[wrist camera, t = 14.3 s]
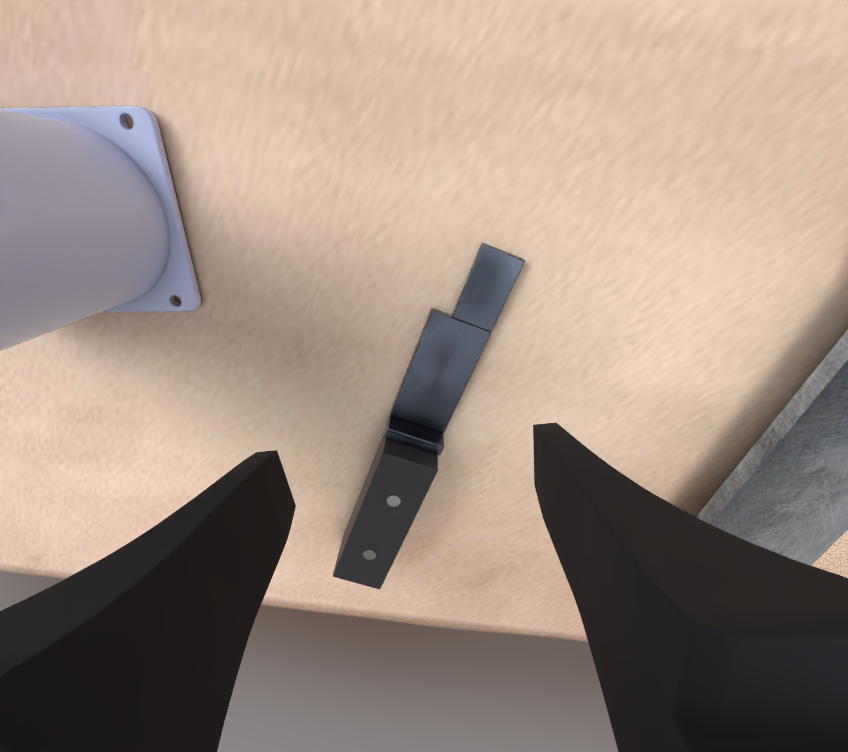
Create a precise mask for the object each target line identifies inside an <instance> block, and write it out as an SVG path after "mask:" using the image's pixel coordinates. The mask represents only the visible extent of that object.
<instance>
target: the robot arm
mask: <svg viewBox="0 0 848 752" xmlns="http://www.w3.org/2000/svg"><path fill="white" fill-rule="evenodd" d="M129 115H130V116H131V117H132V119H133V121H134V126H133V127H132V129H131V128H129V126H128V124H127V117H128V116H129ZM174 296H177V297H179V298H180V300H181V304H178V303H177V302H176V301H175V299H174ZM200 305H201V297H200V293H199V289H198V285H197V281H196V277H195V273H194V268H193V264H192V260H191V256H190V252H189V248H188V244H187V240H186V236H185V231H184V227H183V223H182V219H181V215H180V211H179V207H178V203H177V199H176V194H175V190H174V186H173V182H172V178H171V174H170V170H169V166H168V162H167V158H166V153H165V149H164V145H163V141H162V137H161V133H160V129H159V125H158V121H157V119H156V116H155V115H154V114H153V113H152V112H151V111H150V110H148V109H147V108H144V107H139V106H101V107H43V108H0V351H1V350H4V349H7V348H9V347H12V346H14V345H17V344H20V343H22V342H25V341H27V340H30V339H33V338H35V337H38V336H40V335H43V334H46V333H48V332H51V331H53V330H56V329H58V328H61V327H64V326H66V325H69V324H71V323H74V322H77V321H79V320H82V319H84V318H87V317H90V316H92V315H95V314H97V313H100V312H180V311H194V310H196V309H197V308H198V307H200ZM533 437H534V481H535V488H536V492H537V496H538V500H539V504H540V508H541V512H542V515H543V519H544V521H545V524H546V527H547V529H548V532H549V534H550V537H551V539H552V542H553V545H554V547H555V550H556V552H557V555H558V557H559V560H560V562H561V565H562V567H563V570H564V572H565V575H566V577H567V580H568V582H569V585H570V587H571V590H572V592H573V595H574V598H575V600H576V603H577V606H578V609H579V612H580V615H581V618H582V622H583V625H584V629H585V632H586V635H587V639H588V642H589V646H590V649H591V652H592V656H593V660H594V663H595V667H596V670H597V674H598V677H599V681H600V685H601V688H602V692H603V695H604V699H605V703H606V706H607V710H608V714H609V718H610V721H611V725H612V729H613V733H614V736H615V740H616V744H617V747H618V751H619V752H848V578H846V577H843V576H840V575H837V574H834V573H831V572H828V571H825V570H822V569H819V568H816V567H813V566H810V565H807V564H804V563H802V562H799V561H796V560H793V559H791V558H788V557H786V556H783V555H781V554H778V553H776V552H773V551H771V550H768V549H766V548H763V547H761V546H758V545H756V544H753V543H751V542H749V541H746V540H744V539H742V538H739V537H737V536H735V535H732V534H730V533H728V532H726V531H724V530H722V529H719V528H717V527H715V526H713V525H711V524H709V523H707V522H705V521H703V520H700V519H698V518H696V517H694V516H692V515H691V514H689V513H687V512H685V511H683V510H681V509H679V508H677V507H675V506H674V505H672V504H670V503H668V502H667V501H665V500H663V499H661V498H659V497H658V496H656V495H654V494H652V493H651V492H649V491H648V490H646V489H644V488H643V487H641V486H639V485H638V484H636V483H635V482H633V481H632V480H630V479H629V478H627V477H626V476H624V475H623V474H621V473H620V472H619V471H617V470H616V469H614V468H613V467H611V466H610V465H609V464H607V463H606V462H605V461H603V460H602V459H601V458H599V457H598V456H597V455H595V454H594V453H593V452H591V451H590V450H589V449H588V448H586V447H585V446H584V445H583V444H582V443H580V442H579V441H578V440H577V439H575V438H574V437H573V436H572V435H571V434H569V433H568V432H567V431H566V430H565V429H563V428H562V427H561V426H560V425H558V424H557V423H548V424H538V425H533ZM295 507H296V505H295V502H294V499H293V496H292V493H291V490H290V488H289V485H288V482H287V479H286V476H285V473H284V470H283V467H282V464H281V461H280V458H279V455H278V452H277V450H275V451H265V452H256V453H255V454H253V455H251V456H250V457H248V458H247V459H246V460H244V461H243V462H241V463H240V464H239V465H237V466H236V467H235V468H233V469H232V470H231V471H229V472H228V473H227V474H225V475H224V476H223V477H221V478H220V479H219V480H218V481H216V482H215V483H214V484H212V485H211V486H210V487H208V488H207V489H206V490H204V491H203V492H202V493H200V494H199V495H198V496H197V497H195V498H194V499H193V500H191V501H190V502H188V503H187V504H186V505H184V506H183V507H181V508H180V509H179V510H177V511H176V512H174V513H173V514H171V515H170V516H169V517H167V518H166V519H164V520H163V521H162V522H160V523H159V524H157V525H156V526H154V527H153V528H151V529H150V530H148V531H147V532H145V533H144V534H142V535H141V536H139V537H138V538H136V539H134V540H133V541H131V542H130V543H128V544H126V545H125V546H123V547H121V548H120V549H118V550H117V551H115V552H113V553H112V554H110V555H108V556H106V557H105V558H103V559H101V560H99V561H98V562H96V563H94V564H92V565H90V566H88V567H87V568H85V569H83V570H81V571H79V572H77V573H76V574H74V575H72V576H70V577H68V578H66V579H65V580H63V581H61V582H59V583H57V584H55V585H53V586H51V587H49V588H47V589H45V590H43V591H41V592H39V593H37V594H35V595H33V596H31V597H29V598H27V599H25V600H23V601H21V602H19V603H17V604H14V605H12V606H10V607H8V608H6V609H4V610H2V611H0V752H217V749H218V745H219V741H220V737H221V733H222V728H223V725H224V720H225V717H226V713H227V710H228V706H229V702H230V698H231V695H232V691H233V688H234V684H235V680H236V677H237V673H238V670H239V667H240V664H241V660H242V657H243V653H244V650H245V647H246V644H247V640H248V637H249V634H250V631H251V628H252V626H253V623H254V620H255V617H256V615H257V613H258V610H259V608H260V605H261V603H262V601H263V598H264V596H265V593H266V591H267V588H268V586H269V584H270V581H271V579H272V576H273V574H274V571H275V569H276V567H277V564H278V562H279V559H280V557H281V554H282V552H283V549H284V547H285V544H286V541H287V539H288V535H289V531H290V528H291V524H292V520H293V515H294V511H295Z"/></svg>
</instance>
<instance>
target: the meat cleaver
mask: <svg viewBox="0 0 848 752" xmlns="http://www.w3.org/2000/svg"><path fill="white" fill-rule="evenodd" d="M696 518H698V519H700V520H703V521H705V522H707V523H709V524H711V525H713V526H715V527H717V528H719V529H722V530H724V531H726V532H728V533H730V534H732V535H735V536H737V537H739V538H742V539H744V540H746V541H749V542H751V543H753V544H756V545H758V546H761V547H763V548H766V549H768V550H771V551H773V552H776V553H778V554H781V555H783V556H786V557H788V558H791V559H793V560H796V561H799V562H802V563H804V564H807V565H810V566H811V565H812V564H813V563H814V562H815V561H816V560H817V559H818V558H819V557H820V556H821V555H822V554H823V553H824V552H825V551H826V550H827V549H828V548H829V547H830V546H831V545H832V544H833V543H834V542H835V541H836V540H837V539H838V538H839V537H840V536H841V535H842V534H843V533H845V532H846V531H847V530H848V329H847V331H846V332H845V333H844V334H843V335H842V337H841V338H840V339H839V340H838V342H837V343H836V344H835V345H834V347H833V348H832V349H831V350H830V352H829V353H828V354H827V355H826V357H825V358H824V359H823V360H822V361H821V363H820V364H819V365H818V366H817V368H816V369H815V370H814V371H813V373H812V374H811V375H810V376H809V378H808V379H807V380H806V381H805V383H804V384H803V385H802V386H801V387H800V389H799V390H798V391H797V392H796V394H795V395H794V396H793V397H792V399H791V400H790V401H789V402H788V404H787V405H786V406H785V407H784V409H783V410H782V411H781V412H780V413H779V415H778V416H777V417H776V418H775V420H774V421H773V422H772V423H771V425H770V426H769V427H768V428H767V430H766V431H765V432H764V433H763V434H762V436H761V437H760V438H759V439H758V441H757V442H756V443H755V444H754V446H753V447H752V448H751V449H750V451H749V452H748V453H747V454H746V456H745V457H744V458H743V459H742V460H741V462H740V463H739V464H738V465H737V467H736V468H735V469H734V470H733V472H732V473H731V474H730V475H729V477H728V478H727V479H726V480H725V482H724V483H723V484H722V485H721V486H720V488H719V489H718V490H717V491H716V493H715V494H714V495H713V496H712V498H711V499H710V500H709V501H708V503H707V504H706V505H705V506H704V508H703V509H702V510H701V511H700V512H699V514H698V515H697V516H696Z"/></svg>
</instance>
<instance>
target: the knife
mask: <svg viewBox="0 0 848 752" xmlns="http://www.w3.org/2000/svg"><path fill="white" fill-rule="evenodd" d="M524 262H525V260H523V259H522V258H519V257H517V256H514V255H512V254H509V253H507V252H504V251H502V250H499V249H497V248H494V247H492V246H489V245H487V244H484V243H482V245H481V247H480V249H479V252H478V254H477V256H476V259H475V261H474V264H473V266H472V268H471V271H470V273H469V276H468V278H467V280H466V283H465V285H464V287H463V290H462V292H461V295H460V297H459V299H458V302H457V304H456V306H455V309H454V311H453V314H452V315H449V314H447V313H444V312H441V311H439V310H436V309H433V308H432V309H431V311H430V314H429V316H428V319H427V321H426V324H425V326H424V329H423V331H422V334H421V337H420V339H419V342H418V344H417V347H416V349H415V352H414V354H413V357H412V359H411V362H410V364H409V367H408V369H407V372H406V374H405V377H404V379H403V382H402V385H401V387H400V390H399V392H398V395H397V397H396V400H395V402H394V405H393V407H392V410H391V413H390V415H389V417H388V420H387V424H386V429H385V433H384V435H383V438H382V440H381V443H380V445H379V448H378V450H377V453H376V455H375V458H374V460H373V463H372V465H371V468H370V470H369V473H368V475H367V478H366V480H365V483H364V485H363V488H362V490H361V493H360V495H359V498H358V500H357V503H356V505H355V508H354V510H353V513H352V515H351V518H350V520H349V523H348V526H347V528H346V531H345V533H344V536H343V538H342V542H341V546H340V550H339V554H338V558H337V561H336V565H335V569H334V573H333V576H334V577H337V578H340V579H344V580H348V581H351V582H355V583H358V584H362V585H366V586H369V587H373V588H377V589H380V588H381V586H382V584H383V582H384V580H385V578H386V576H387V574H388V572H389V570H390V568H391V566H392V564H393V562H394V560H395V557H396V555H397V553H398V551H399V549H400V547H401V545H402V543H403V541H404V539H405V537H406V535H407V533H408V531H409V529H410V527H411V525H412V523H413V521H414V518H415V516H416V514H417V512H418V510H419V508H420V506H421V504H422V502H423V500H424V498H425V496H426V494H427V492H428V490H429V488H430V486H431V484H432V482H433V479H434V477H435V475H436V473H437V471H438V455H440V454H441V452H442V450H443V448H444V436H443V433H444V432H445V430H446V428H447V425H448V423H449V421H450V419H451V417H452V415H453V413H454V411H455V408H456V406H457V404H458V402H459V400H460V398H461V396H462V394H463V391H464V389H465V387H466V385H467V383H468V381H469V379H470V377H471V375H472V372H473V370H474V368H475V366H476V364H477V362H478V360H479V358H480V355H481V353H482V351H483V349H484V347H485V345H486V343H487V341H488V339H489V336H490V334H491V332H492V330H493V328H494V326H495V324H496V322H497V319H498V317H499V315H500V313H501V311H502V309H503V307H504V305H505V303H506V300H507V298H508V296H509V294H510V292H511V290H512V288H513V286H514V283H515V281H516V279H517V277H518V275H519V273H520V271H521V269H522V266H523V264H524Z"/></svg>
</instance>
